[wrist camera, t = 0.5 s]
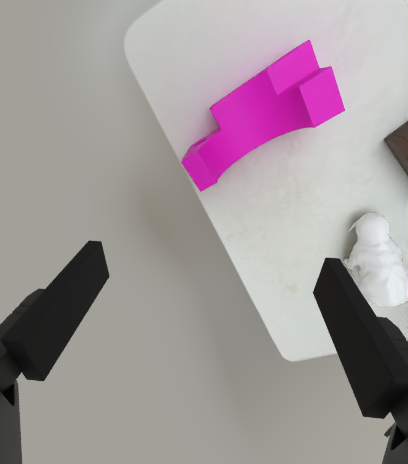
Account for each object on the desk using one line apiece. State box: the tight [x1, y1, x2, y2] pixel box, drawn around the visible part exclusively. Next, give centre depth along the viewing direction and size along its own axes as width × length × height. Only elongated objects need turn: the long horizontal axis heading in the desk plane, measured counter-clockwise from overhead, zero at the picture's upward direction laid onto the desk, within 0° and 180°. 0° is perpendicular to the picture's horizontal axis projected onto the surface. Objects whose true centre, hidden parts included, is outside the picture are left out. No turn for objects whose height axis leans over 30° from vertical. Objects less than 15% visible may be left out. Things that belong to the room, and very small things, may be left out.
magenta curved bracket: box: [181, 40, 345, 192], centre depth 25 cm, size 15×6×8 cm, turn 122°
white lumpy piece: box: [344, 213, 408, 306], centre depth 32 cm, size 6×8×12 cm
